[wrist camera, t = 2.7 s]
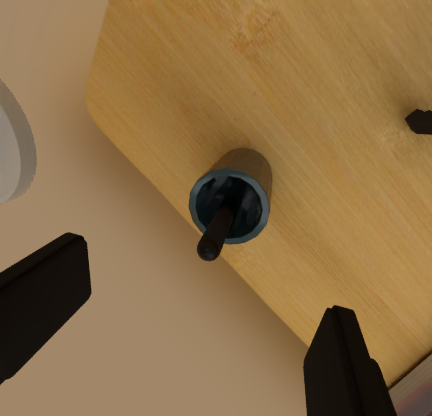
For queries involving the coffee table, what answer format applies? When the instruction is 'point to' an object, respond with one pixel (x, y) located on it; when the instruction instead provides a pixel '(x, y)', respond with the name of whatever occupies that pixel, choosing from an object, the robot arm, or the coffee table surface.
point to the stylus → (221, 222)
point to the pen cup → (250, 201)
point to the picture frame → (414, 391)
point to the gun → (420, 122)
